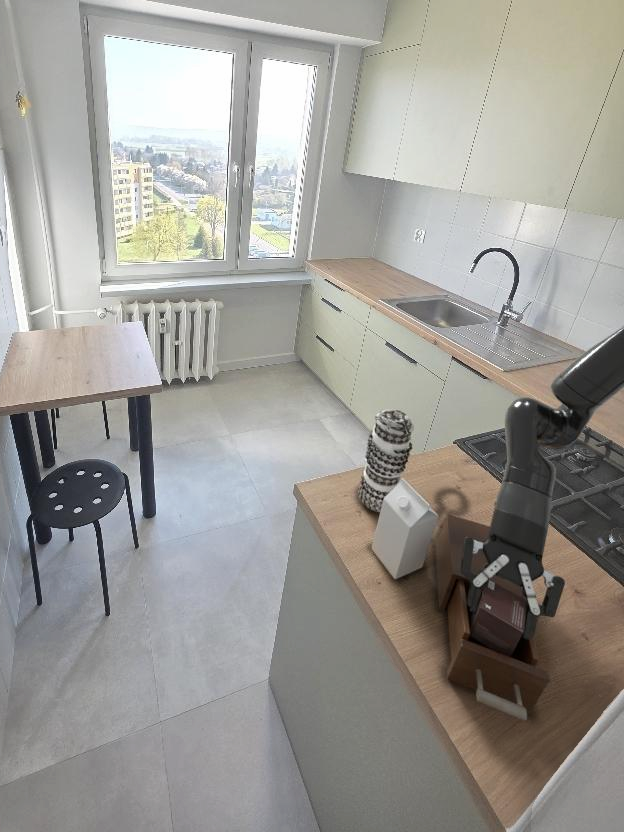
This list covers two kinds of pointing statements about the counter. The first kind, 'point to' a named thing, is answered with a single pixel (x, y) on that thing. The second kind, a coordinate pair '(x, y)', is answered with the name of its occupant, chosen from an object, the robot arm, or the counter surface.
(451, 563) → the cabinet
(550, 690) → the counter surface
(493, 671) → the drawer
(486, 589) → the box
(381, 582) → the counter surface
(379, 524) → the milk carton
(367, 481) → the decorative candle
